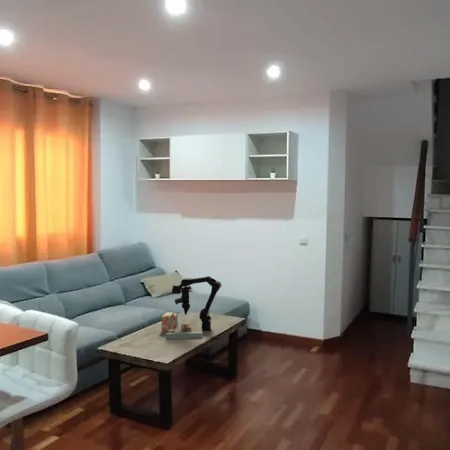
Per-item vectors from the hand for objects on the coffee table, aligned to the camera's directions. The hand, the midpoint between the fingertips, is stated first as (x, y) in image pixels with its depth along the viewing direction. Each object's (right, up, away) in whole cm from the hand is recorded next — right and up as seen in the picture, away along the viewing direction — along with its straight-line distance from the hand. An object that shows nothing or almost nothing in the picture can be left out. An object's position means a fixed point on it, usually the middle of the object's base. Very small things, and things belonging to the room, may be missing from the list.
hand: (185, 314), depth 382 cm
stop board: (+1, -13, -24) cm, 27 cm away
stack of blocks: (-12, -11, +1) cm, 17 cm away
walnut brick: (+1, -12, -10) cm, 16 cm away
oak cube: (-9, -13, -18) cm, 24 cm away
